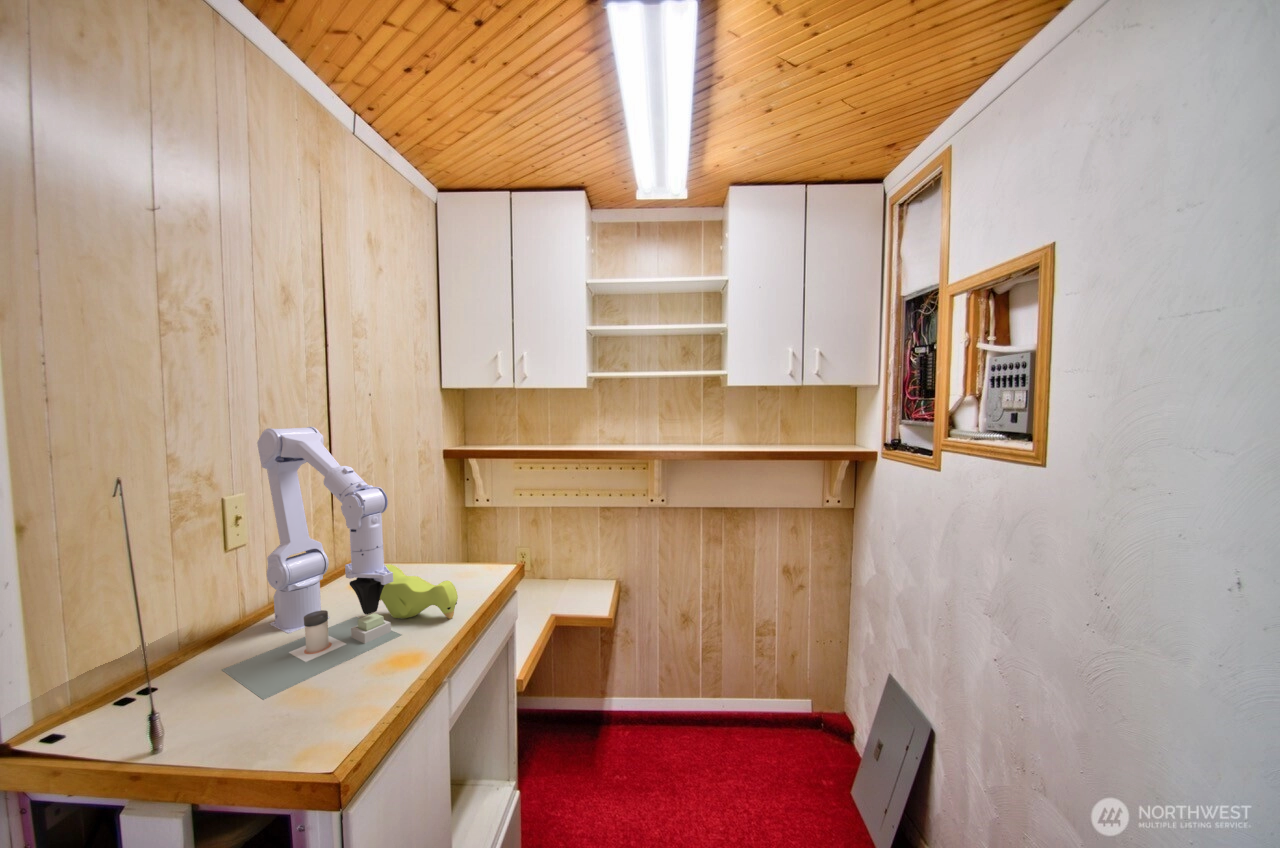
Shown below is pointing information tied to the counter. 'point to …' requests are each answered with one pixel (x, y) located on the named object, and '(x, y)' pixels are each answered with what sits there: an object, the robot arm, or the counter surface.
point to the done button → (370, 622)
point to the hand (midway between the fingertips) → (370, 612)
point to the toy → (416, 595)
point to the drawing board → (306, 658)
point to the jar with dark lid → (316, 631)
